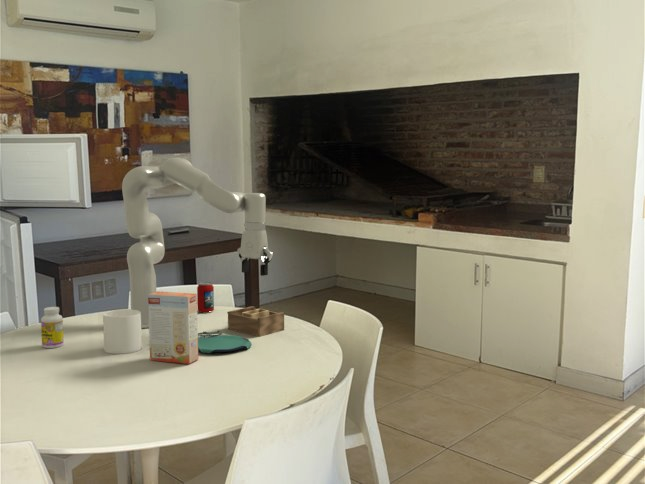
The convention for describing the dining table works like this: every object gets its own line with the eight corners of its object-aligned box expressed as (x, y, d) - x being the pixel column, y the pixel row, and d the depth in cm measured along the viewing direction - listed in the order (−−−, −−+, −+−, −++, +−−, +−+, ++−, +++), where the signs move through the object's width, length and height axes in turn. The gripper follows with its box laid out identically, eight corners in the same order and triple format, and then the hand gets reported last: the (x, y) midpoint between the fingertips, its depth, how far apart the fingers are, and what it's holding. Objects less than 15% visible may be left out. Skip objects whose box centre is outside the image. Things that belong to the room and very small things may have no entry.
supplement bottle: (37, 347, 206) (35, 309, 204) (53, 342, 212) (52, 305, 210) (52, 349, 203) (50, 311, 201) (68, 344, 209) (66, 307, 207)
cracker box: (199, 359, 192) (198, 292, 190) (189, 365, 187) (187, 296, 184) (160, 355, 197) (158, 290, 195) (149, 360, 191) (147, 293, 189)
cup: (149, 346, 207) (148, 311, 206) (124, 355, 196) (123, 318, 195) (122, 342, 212) (120, 308, 210) (96, 351, 201) (95, 315, 200)
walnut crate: (259, 336, 219) (259, 318, 219) (227, 329, 230) (227, 311, 229) (284, 329, 229) (284, 312, 229) (252, 322, 240) (252, 306, 239)
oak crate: (251, 330, 225) (251, 314, 224) (242, 328, 228) (242, 312, 227) (269, 326, 232) (269, 310, 231) (259, 324, 235) (259, 308, 234)
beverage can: (210, 313, 256) (209, 285, 255) (195, 313, 257) (194, 284, 256) (216, 310, 263) (216, 282, 261) (201, 309, 264) (200, 281, 263)
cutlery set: (200, 359, 193) (200, 352, 193) (173, 338, 219) (173, 332, 219) (259, 351, 203) (259, 344, 203) (227, 332, 229) (227, 326, 229)
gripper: (231, 226, 228) (230, 272, 230) (264, 229, 217) (264, 277, 219) (246, 224, 234) (245, 269, 236) (279, 228, 223) (278, 275, 225)
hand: (254, 273), depth 228 cm, fingers open, 9 cm apart
